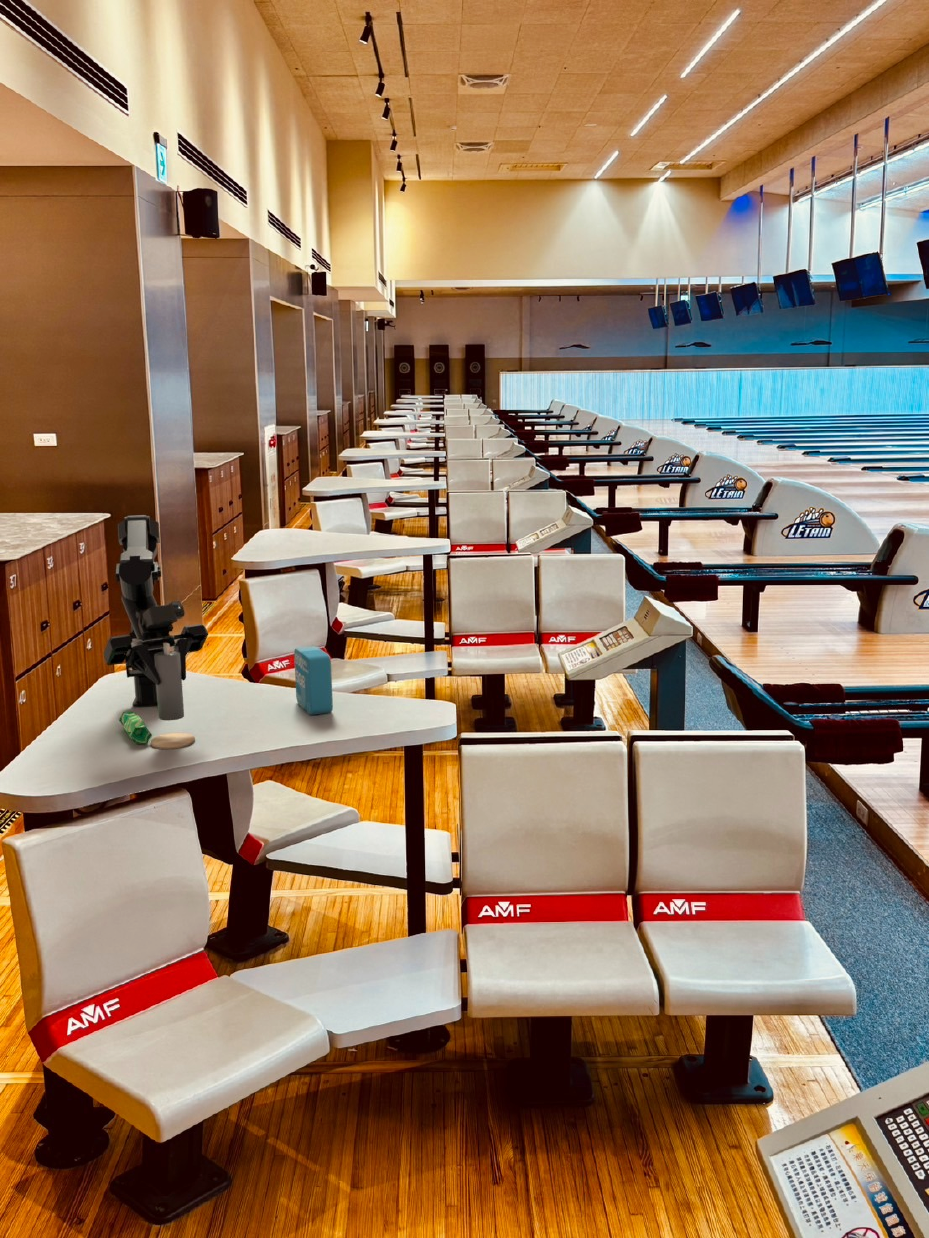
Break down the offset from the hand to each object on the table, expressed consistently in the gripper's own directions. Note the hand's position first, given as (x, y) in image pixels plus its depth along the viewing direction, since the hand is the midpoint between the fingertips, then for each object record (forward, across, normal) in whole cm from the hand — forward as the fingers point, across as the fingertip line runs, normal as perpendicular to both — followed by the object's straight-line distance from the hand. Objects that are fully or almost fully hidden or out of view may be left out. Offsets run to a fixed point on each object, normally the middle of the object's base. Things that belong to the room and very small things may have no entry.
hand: (171, 681), depth 208 cm
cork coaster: (+8, 0, +9) cm, 12 cm away
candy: (+2, -4, +16) cm, 16 cm away
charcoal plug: (+4, 0, +6) cm, 7 cm away
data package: (+6, +32, +12) cm, 35 cm away
